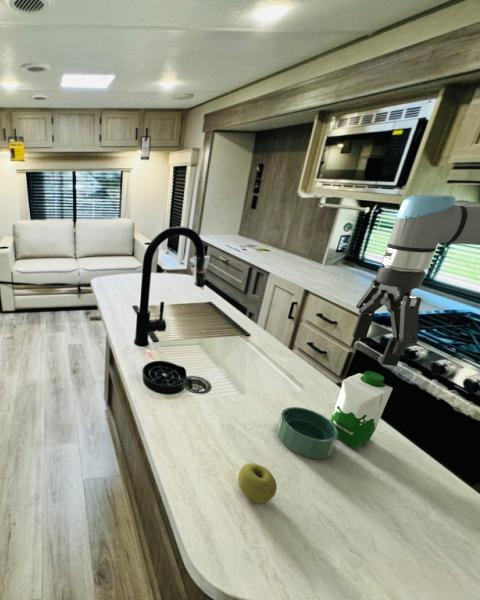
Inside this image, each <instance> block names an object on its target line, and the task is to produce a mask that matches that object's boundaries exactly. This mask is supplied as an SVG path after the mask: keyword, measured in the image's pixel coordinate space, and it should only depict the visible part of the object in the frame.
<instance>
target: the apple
mask: <svg viewBox="0 0 480 600" xmlns="http://www.w3.org/2000/svg"><path fill="white" fill-rule="evenodd" d="M237 479H238V485H239V488H240V490H241V492H242V493H243V495H244V496H245V497H247V499H248V500H250V501H252V502H255V503H257V504H265V503H268V502H270V501H271V500H272V499H273V498H274V497H275V495H276V494H277V487H278V486H277V481H276V479H275V476H274V475H273V474H272V473H271V471H270V470H269V469H268V468H266V467H265V466H264V465H261V464H259V463H254V462H248V463H246V464H244V465H243V466H241V468H240V469H239V472H238V477H237Z"/></svg>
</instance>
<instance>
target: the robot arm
mask: <svg viewBox="0 0 480 600" xmlns="http://www.w3.org/2000/svg"><path fill="white" fill-rule="evenodd" d="M440 243H441V244H459V245H474V246H480V201H470V200H462V199H459V200H456V197H455V196H453V195H446V194H445V195H441V194H436V195H435V194H415V195H409V196H407V197H405V198H404V199H403V200H402V203H401V205H400V207H399V210H398V212H397V214H396V216H395V220H394V223H393V226H392V231H391V233H390V236H389V239H388V242H387V245H386V248H385V251H384V252H383V253H382V260H381V266H379V267H378V271H377V273H376V276H375V278H374V279H372V280H371V282H370V286H369V287H368V288H367V290H366V291H365V293H364V294H363V295H362V296H361V298H360V299H359V300H358V302H357V303H356V305H355V308H356V309H358V313H359V314H358V318H357V321H356V324H355V327H354V328H353V329H354V330H353V333H352V335H351V336H352V337H353V338H357V339H367V337H368V335H369V334H368V333H369V332H370V329H371V325H372V322H373V319H374V316H375V315H376V313H375V312H376V311H378V310H379V309H380V308H382V307H383V306H384V307H385V308H386V311H387V312H388V313H389V315H390V316H389V317H390V324H391V331H392V337H389V339H388V342H387V344H386V347H385V349H384V352H383V355H382V358H381V360H380V362H379V363H380V364H381V365H383V366H390V367H398V364H399V362H400V359H401V358H402V355H403V354H404V352H405V348H406V346H407V344H414V345H415V344H418V340H419V315H420V313H419V312H420V306H421V303H422V298H421V297H419V296H411V295H412V291H413V290H415V289H418V288H421V286H422V285H423V281H424V279H425V277H426V274H427V273H426V271H425V270H428V269H429V268H430V265H431V264H432V260H433V257H434V254H435V253H436V250H437V246H438V245H439V244H440Z"/></svg>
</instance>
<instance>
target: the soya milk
mask: <svg viewBox="0 0 480 600" xmlns="http://www.w3.org/2000/svg"><path fill="white" fill-rule="evenodd" d="M384 381H385V376H383V375H382V374H380V373H378V372H375V371H371V370H367V371H364V372H363V373H360V372H358V373H356V374H354V375H351V376H348V377H346V378H345V379H343V380H342V383H341V390H340V391H339V395H338V398H337V401H336V404H335V406H334V409H333V412H332V415H331V418H330V421H331V422H332V423H333V424H334V425H335V426H336V428H337V431H338V437H337V439H339V440H340V441H342V442H343V443H344V444H347V445H348V446H349V447H351V448H352V449H357V448H358V447H359V446H361V445H363V444H365V443H367V442H369V441H370V440H371V438H372V437H373V435H374V433H375V431H376V429H377V427H378V424H379V422H380V420H381V417H382V415H383V413H384V410H385V407H386V406H387V403H388V400H389V398H390V396H391V393H392V391H393V387H392V386H389V385H387V384H385V383H384Z"/></svg>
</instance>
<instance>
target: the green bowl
mask: <svg viewBox="0 0 480 600" xmlns="http://www.w3.org/2000/svg"><path fill="white" fill-rule="evenodd" d="M276 433H277V437H278V438H279V440H280V441H281V443H282V444H283V445H285V446H286V447H287V448H288V449H289V450H290V451H292V452H295V453H297V454H298V455H301V456H303V457H306V458H309V459H315V460H322V459H327V458H329V457H330V456H332V454H333V451H334V448H335V445H336V443H337V440H338V438H337V437H338V431H337V428H336V426H335V425H334V424H333V423H332V422H331V419H328V418H327V417H325V416H324V415H322V414H320V413H319V412H316V411H314V410H312V409H308V408H304V407H297V406H291V407H286V408H285V409H283V410H282V411H281V413H280V417H279V421H278V425H277V428H276Z"/></svg>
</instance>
